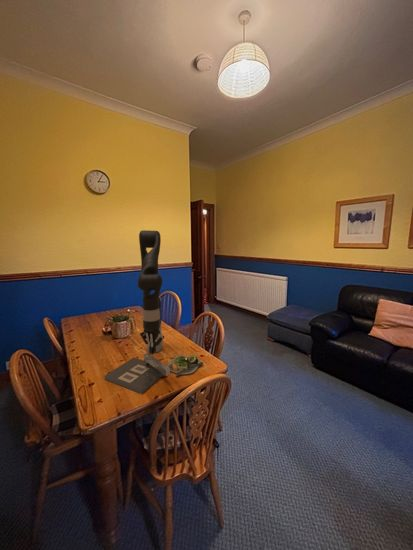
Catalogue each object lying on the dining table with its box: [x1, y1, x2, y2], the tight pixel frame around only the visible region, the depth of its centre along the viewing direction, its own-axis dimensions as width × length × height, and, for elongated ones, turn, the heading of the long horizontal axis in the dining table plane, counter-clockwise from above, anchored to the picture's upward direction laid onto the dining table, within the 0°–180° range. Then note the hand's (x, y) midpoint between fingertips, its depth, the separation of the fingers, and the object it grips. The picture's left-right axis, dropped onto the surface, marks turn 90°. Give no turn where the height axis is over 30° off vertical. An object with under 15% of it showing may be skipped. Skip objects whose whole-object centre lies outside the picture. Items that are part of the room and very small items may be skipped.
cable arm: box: [143, 352, 171, 376], centre depth 118 cm, size 21×4×3 cm, turn 45°
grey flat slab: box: [104, 357, 165, 395], centre depth 118 cm, size 20×24×4 cm
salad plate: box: [166, 354, 204, 377], centre depth 125 cm, size 19×18×5 cm
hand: (152, 353), depth 107 cm, fingers closed
